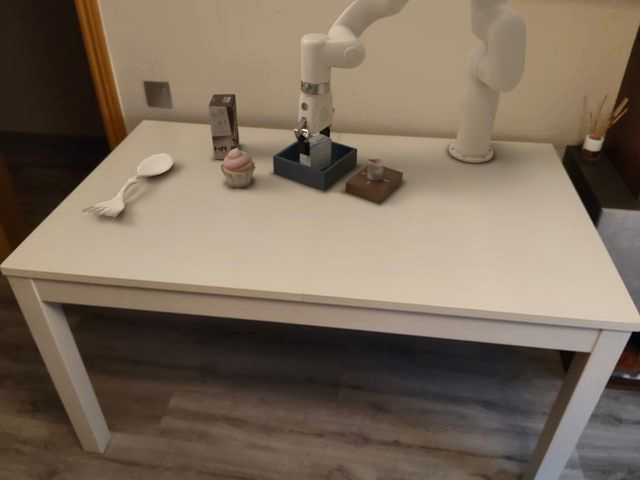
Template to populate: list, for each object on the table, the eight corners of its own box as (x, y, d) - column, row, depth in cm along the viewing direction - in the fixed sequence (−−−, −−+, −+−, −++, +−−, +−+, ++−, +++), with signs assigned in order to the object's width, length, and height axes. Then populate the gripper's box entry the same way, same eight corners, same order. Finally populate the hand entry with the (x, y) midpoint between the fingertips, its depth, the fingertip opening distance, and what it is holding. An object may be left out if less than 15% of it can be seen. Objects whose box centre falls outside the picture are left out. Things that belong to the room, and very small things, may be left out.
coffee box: (236, 160, 156) (231, 106, 146) (213, 159, 156) (207, 106, 146) (240, 145, 163) (236, 93, 153) (219, 145, 163) (213, 93, 153)
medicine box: (320, 161, 155) (320, 132, 150) (331, 166, 152) (331, 138, 147) (299, 170, 150) (299, 141, 145) (310, 176, 148) (310, 147, 143)
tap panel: (369, 171, 151) (370, 161, 149) (402, 182, 146) (403, 172, 145) (345, 192, 142) (345, 181, 140) (378, 204, 138) (379, 193, 136)
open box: (307, 150, 161) (307, 133, 158) (356, 166, 154) (357, 148, 150) (273, 173, 150) (272, 156, 146) (324, 191, 142) (324, 173, 139)
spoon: (83, 220, 131) (80, 208, 129) (151, 159, 156) (149, 148, 154) (116, 226, 129) (113, 214, 127) (180, 163, 154) (178, 152, 152)
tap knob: (385, 176, 143) (386, 159, 140) (378, 182, 140) (379, 166, 137) (371, 171, 145) (372, 155, 142) (364, 178, 142) (365, 161, 139)
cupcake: (262, 186, 144) (260, 152, 138) (228, 194, 141) (224, 159, 135) (250, 170, 151) (247, 137, 145) (217, 177, 148) (213, 144, 142)
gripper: (308, 100, 130) (307, 164, 140) (346, 79, 141) (343, 139, 152) (282, 93, 133) (284, 155, 143) (322, 73, 145) (320, 132, 155)
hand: (314, 147), depth 147 cm, fingers open, 9 cm apart
